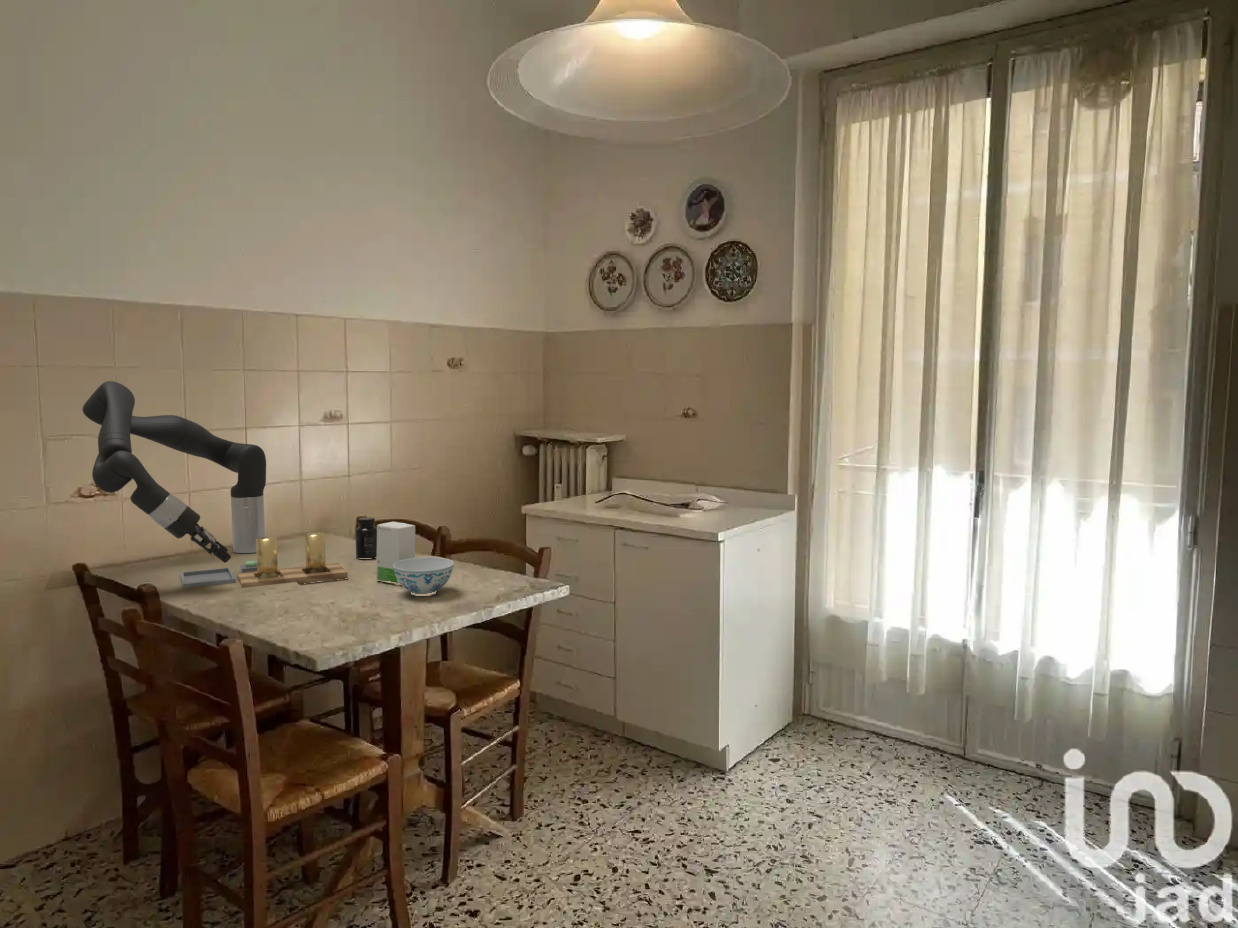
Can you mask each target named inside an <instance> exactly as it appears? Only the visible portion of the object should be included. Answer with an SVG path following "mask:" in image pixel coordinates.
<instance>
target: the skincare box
mask: <svg viewBox="0 0 1238 928" xmlns="http://www.w3.org/2000/svg"><path fill="white" fill-rule="evenodd" d="M376 527H377V558H376V573H375V574H376V576H375V577H376V580H379V581H391V582H396V583H400V582H399V581H398V579H397V577H396V575H395V572H394V568H393V564H394V563H396V562H398V561H401V560H404V559H410V558H416V557H415V556H416V555H415V553H416V525H415V524H409V523H405V522H398V521H390V522H383V523H379V524H376ZM376 580H375V581H376Z"/></svg>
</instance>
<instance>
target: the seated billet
mask: <svg viewBox="0 0 1238 928" xmlns="http://www.w3.org/2000/svg"><path fill="white" fill-rule="evenodd" d="M304 546H305V551H304V552H305V566H306V574H313V573H322V572H326V564H327V563H326V540H325V532H323V531H322V532H319V531H318V532H308V533H305V534H304Z"/></svg>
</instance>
